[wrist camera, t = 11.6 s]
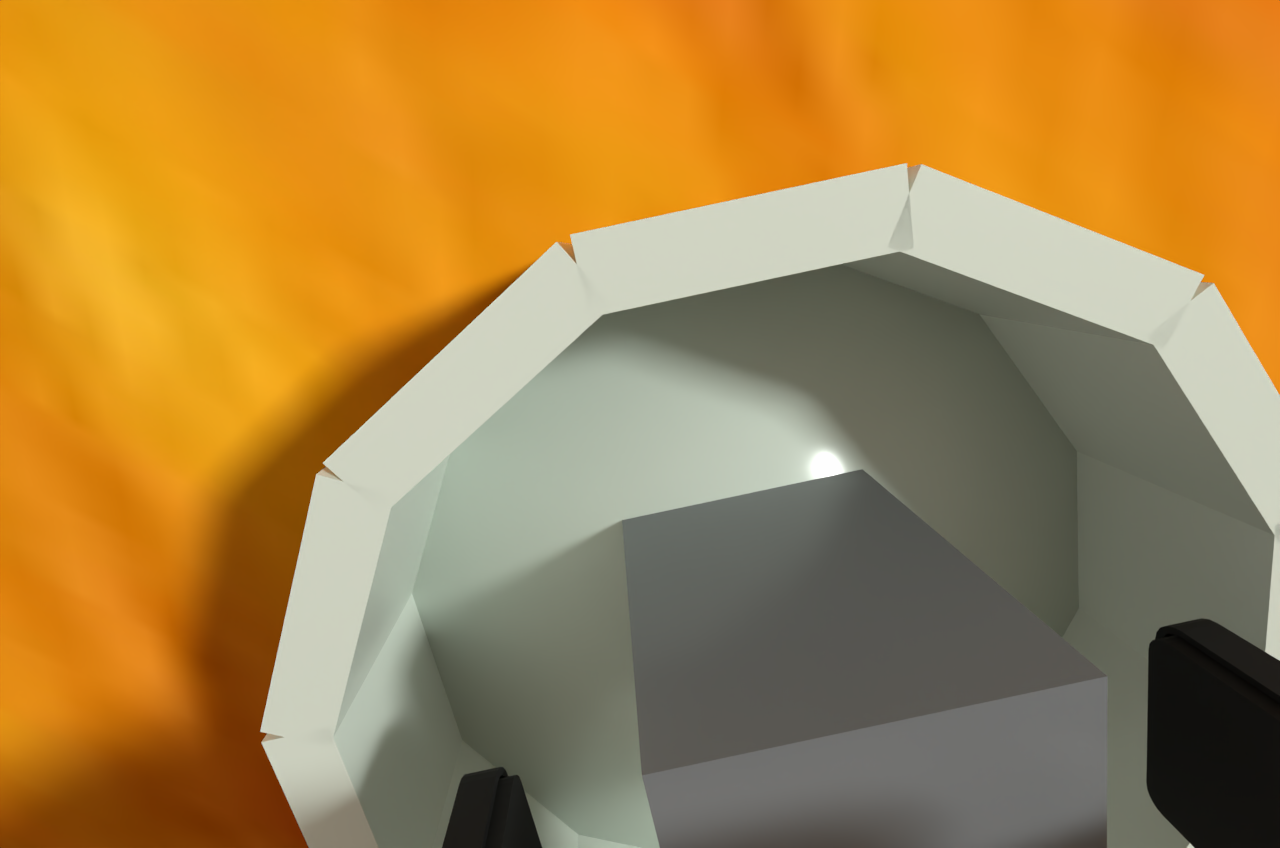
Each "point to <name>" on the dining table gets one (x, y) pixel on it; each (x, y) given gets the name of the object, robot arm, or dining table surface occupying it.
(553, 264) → the bowl
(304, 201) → the dining table surface
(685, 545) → the matte grey cube
